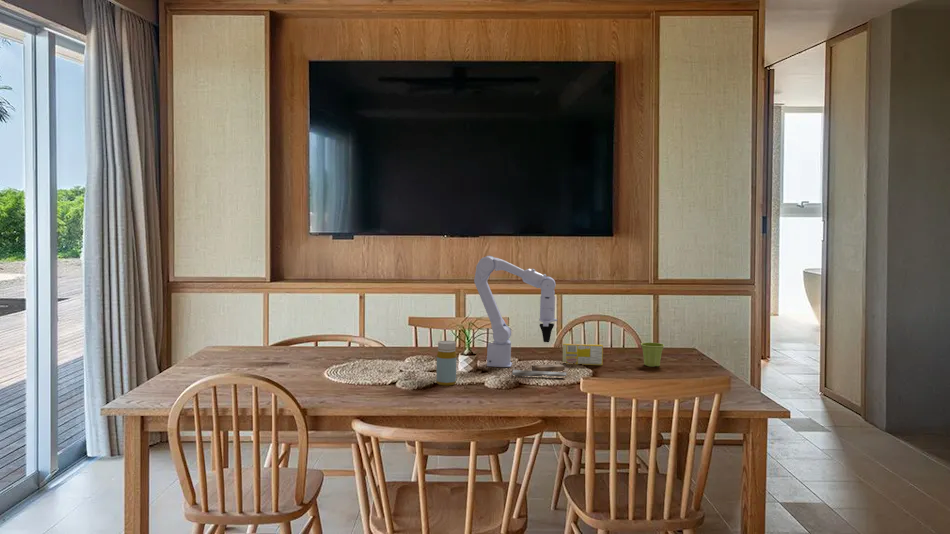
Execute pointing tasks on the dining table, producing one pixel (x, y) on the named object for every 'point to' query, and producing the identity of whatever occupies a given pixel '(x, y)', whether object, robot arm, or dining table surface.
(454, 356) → the bottle
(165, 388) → the dining table surface
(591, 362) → the candy box
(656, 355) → the plant pot
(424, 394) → the dining table surface
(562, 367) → the plank
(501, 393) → the dining table surface
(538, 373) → the floor strip
